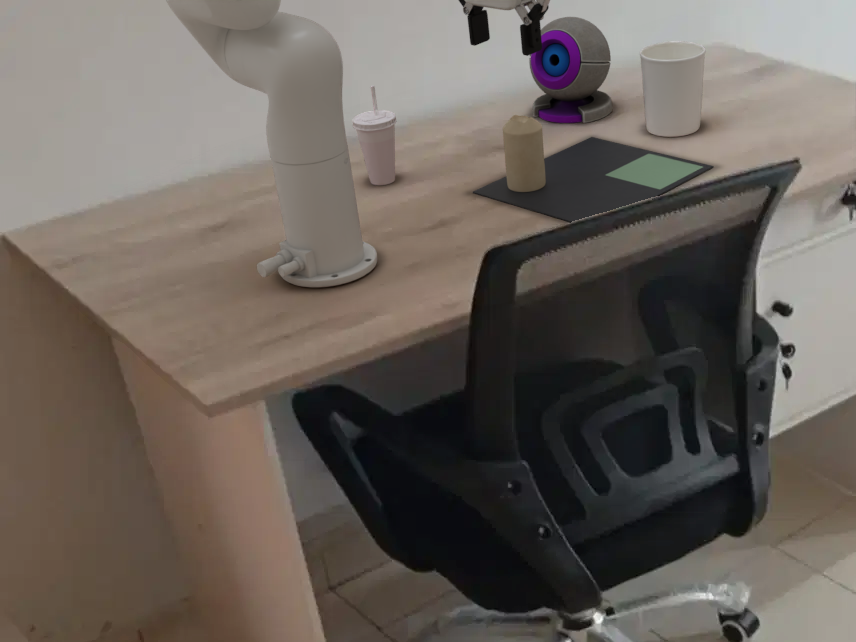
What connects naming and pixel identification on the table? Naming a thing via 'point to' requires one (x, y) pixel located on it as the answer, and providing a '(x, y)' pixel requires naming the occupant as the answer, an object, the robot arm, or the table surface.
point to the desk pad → (597, 179)
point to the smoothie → (377, 142)
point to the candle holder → (672, 87)
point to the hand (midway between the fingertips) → (505, 47)
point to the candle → (524, 154)
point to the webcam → (571, 72)
